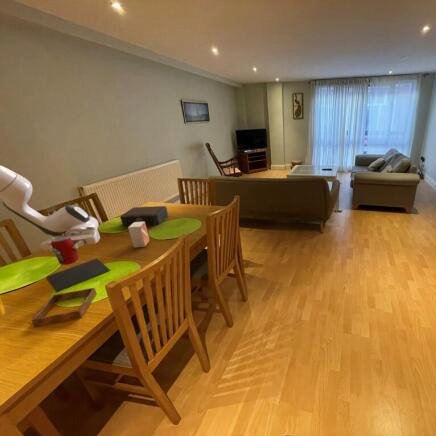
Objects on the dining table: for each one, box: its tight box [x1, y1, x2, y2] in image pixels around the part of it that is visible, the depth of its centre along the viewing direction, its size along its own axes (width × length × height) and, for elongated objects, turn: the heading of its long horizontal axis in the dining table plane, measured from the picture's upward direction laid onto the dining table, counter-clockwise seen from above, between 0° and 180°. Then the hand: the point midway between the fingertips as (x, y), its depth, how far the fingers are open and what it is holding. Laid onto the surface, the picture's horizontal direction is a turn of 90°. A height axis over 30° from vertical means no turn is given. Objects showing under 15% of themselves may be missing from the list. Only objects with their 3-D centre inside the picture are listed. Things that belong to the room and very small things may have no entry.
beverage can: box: [51, 235, 80, 266], centre depth 106 cm, size 7×7×12 cm
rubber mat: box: [46, 258, 111, 293], centre depth 116 cm, size 20×18×1 cm
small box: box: [127, 222, 150, 248], centre depth 141 cm, size 8×6×13 cm
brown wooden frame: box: [31, 287, 98, 328], centre depth 94 cm, size 14×14×3 cm
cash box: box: [120, 205, 169, 227], centre depth 176 cm, size 25×20×8 cm
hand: (63, 249), depth 104 cm, fingers closed on beverage can, 6 cm apart
